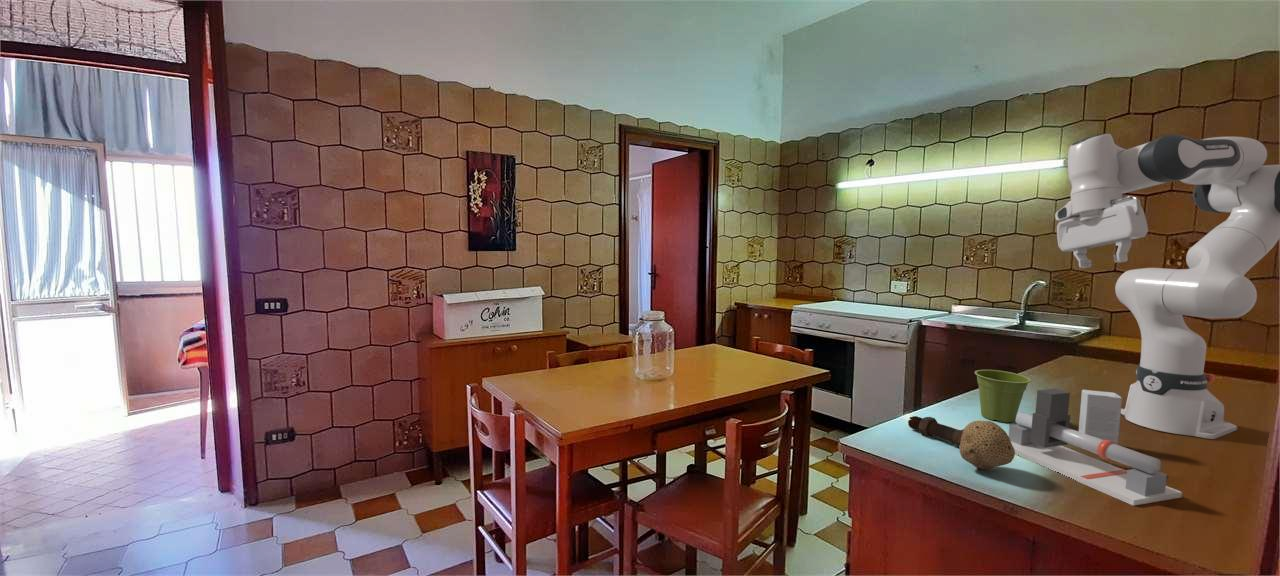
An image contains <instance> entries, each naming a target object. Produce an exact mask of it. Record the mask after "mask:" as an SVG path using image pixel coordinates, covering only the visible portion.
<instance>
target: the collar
mask: <svg viewBox="0 0 1280 576" xmlns="http://www.w3.org/2000/svg"><path fill="white" fill-rule="evenodd" d="M1036 391H1037V393H1036V402H1035V412H1034V413H1032V415H1033V417H1032V428H1031V439H1030V442H1031V443H1034V444H1036V445H1039V446H1041V447H1044V448H1046V447H1054V446H1068V444H1069V443H1066V442H1063V441H1061V440H1058V439H1055V438H1053V437H1050V436H1049V430H1050V422H1053V423H1056V424H1059V425H1062V426H1064V427H1067V428H1070V422H1071V421H1070V420H1071V415H1070V414H1069V408H1070V407H1069V406H1070V396H1071V392H1068V391H1066V390H1065V391H1064V390H1061V389H1058V388H1047V389H1037V390H1036Z"/></svg>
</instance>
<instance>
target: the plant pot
mask: <svg viewBox="0 0 1280 576" xmlns="http://www.w3.org/2000/svg"><path fill="white" fill-rule="evenodd" d="M974 374H975V375H976V381H977V384H978V391H979V392H978V393H979V402H980V413H981V416H982V417H984V418H986V419H987V420H989V421H994V420H995V421H998V422H1001V423H1013V422H1015V421H1016V416H1017V414H1018V413H1019V409H1020V405H1021V403H1022V399H1023V396H1024V393H1025V391H1026V389H1027V386H1028V384H1029V383H1031V380H1032V379H1031V378H1029V377H1027V376H1025V375H1022V374H1020V373H1019V374H1018V373H1016V372H1015V373H1014V372H1010V371H1004V370H998V369H997V370H996V369H978V370H975V371H974Z"/></svg>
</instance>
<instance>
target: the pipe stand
mask: <svg viewBox="0 0 1280 576" xmlns="http://www.w3.org/2000/svg"><path fill="white" fill-rule="evenodd" d="M1032 417H1033V414H1030V413H1027V412H1023V411H1020V412H1017V415H1016V418H1015V423H1016V424H1009V425H1008V426H1009V428H1008V437H1009V438H1010V441H1011V443H1012V446H1013V447H1014V450H1015V455H1016V456H1018V455H1019V456H1018V457H1020V456H1021V457H1020V458H1022V457H1023V459H1025V458H1026V459H1025V460H1027V459H1028V460H1027V461H1029V460H1030V461H1029V462H1032V461H1033V462H1032V463H1034V462H1035V463H1034V464H1036V463H1038V464H1037V465H1039V464H1040V465H1039V466H1041V465H1042V466H1041V467H1043V466H1045V467H1047V468H1046V469H1048V468H1049V469H1048V470H1050V469H1051V471H1052V470H1053V472H1055V471H1056V472H1055V473H1057V472H1059V473H1061V474H1060V475H1062V474H1063V475H1062V476H1064V475H1065V476H1064V477H1066V476H1067V477H1066V478H1068V477H1070V478H1069V479H1071V478H1072V479H1071V480H1073V479H1074V480H1073V481H1075V480H1076V482H1078V483H1079V484H1082V485H1085V486H1086V487H1087V486H1088V487H1089V488H1092V489H1095V490H1096V491H1099V492H1100V493H1103V494H1106V495H1108V496H1110V497H1113V498H1115V499H1116V500H1119V501H1122V502H1124V503H1127V504H1128V505H1131V506H1138V505H1145V504H1150V503H1156V502H1161V501H1168V500H1173V499H1179V498H1182V497H1183V496H1182V495H1183V492H1182V491H1180V490H1178V489H1175V488H1173V487H1170V486H1168V485H1167V478H1168V473H1164V472H1162V471H1160V470H1161V465H1162V463H1161V460H1160V459H1159V458H1156V457H1153V456H1151V455H1148V454H1144V453H1142V452H1139V451H1136V450H1134V449H1130V448H1127V447H1125V446H1122V445H1119V444H1118V445H1117V444H1116V443H1115V442H1112V441H1109V440H1102V439H1099V438H1096V437H1093V436H1090V435H1087V434H1085V433H1082V432H1079V430H1076V429H1072V428H1070V427H1069V428H1067V427H1064V426H1062V425H1059V424H1056V423H1053V422H1050V430H1049V436H1050V437H1053V438H1055V439H1058V440H1061V441H1063V442H1066V443H1068V444H1069V445H1072V446H1074V447H1077V448H1080V449H1081V450H1082V449H1083V450H1085V451H1088V452H1091V453H1092V454H1096V455H1098V456H1099V457H1100V458H1102V459H1105V460H1108V461H1114V462H1117V463H1120V464H1122V465H1126V466H1128V467H1129V468H1130V467H1131V468H1133V469H1127V470H1125V469H1123V468H1120V467H1117V466H1115V465H1113V464H1110V463H1107V462H1105V461H1102V460H1099V459H1097V458H1094V457H1091V456H1089V455H1087V454H1084V453H1082V452H1079V451H1076V450H1073V449H1071V448H1069V447H1065V446H1064V445H1062V446H1054V447H1046V448H1044V447H1041V446H1039V445H1036V444H1034V443H1031V442H1030V439H1031V428H1032ZM1045 467H1044V468H1045ZM1059 473H1058V474H1059Z"/></svg>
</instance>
